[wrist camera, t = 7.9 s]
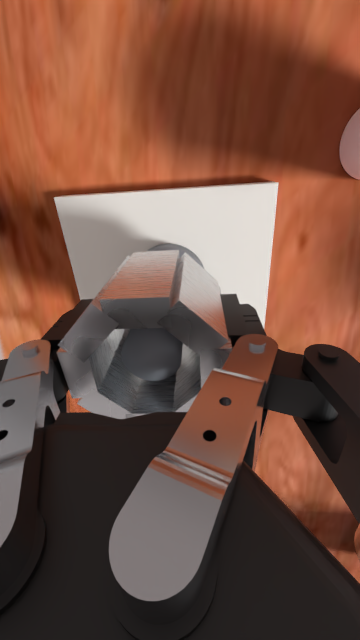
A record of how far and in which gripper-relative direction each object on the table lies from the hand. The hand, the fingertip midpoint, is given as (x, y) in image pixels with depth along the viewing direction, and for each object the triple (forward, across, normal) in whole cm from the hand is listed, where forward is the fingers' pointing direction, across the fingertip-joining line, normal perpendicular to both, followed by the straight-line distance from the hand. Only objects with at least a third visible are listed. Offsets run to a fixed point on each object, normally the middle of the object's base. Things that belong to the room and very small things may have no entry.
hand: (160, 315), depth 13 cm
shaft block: (+6, 0, 0) cm, 6 cm away
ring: (+1, 0, 0) cm, 1 cm away
